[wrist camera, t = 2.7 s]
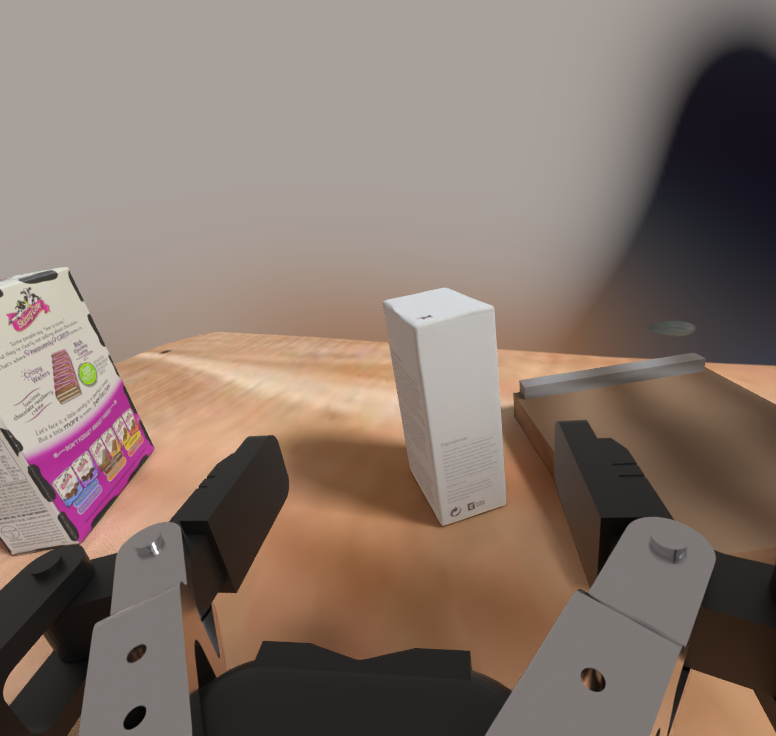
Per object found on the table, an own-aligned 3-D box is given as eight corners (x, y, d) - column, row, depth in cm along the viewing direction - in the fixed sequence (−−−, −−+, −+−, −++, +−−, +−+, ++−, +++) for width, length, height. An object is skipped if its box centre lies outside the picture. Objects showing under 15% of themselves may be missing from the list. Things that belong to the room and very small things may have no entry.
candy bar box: (101, 459, 37) (6, 276, 31) (157, 449, 37) (73, 264, 31) (3, 561, 27) (-172, 317, 20) (80, 548, 27) (-71, 299, 20)
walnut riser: (695, 387, 32) (700, 351, 31) (968, 553, 17) (998, 497, 16) (514, 415, 33) (512, 381, 31) (630, 601, 18) (636, 549, 17)
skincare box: (510, 506, 24) (498, 305, 19) (441, 529, 23) (411, 326, 19) (464, 451, 29) (447, 284, 25) (408, 468, 29) (378, 300, 24)
